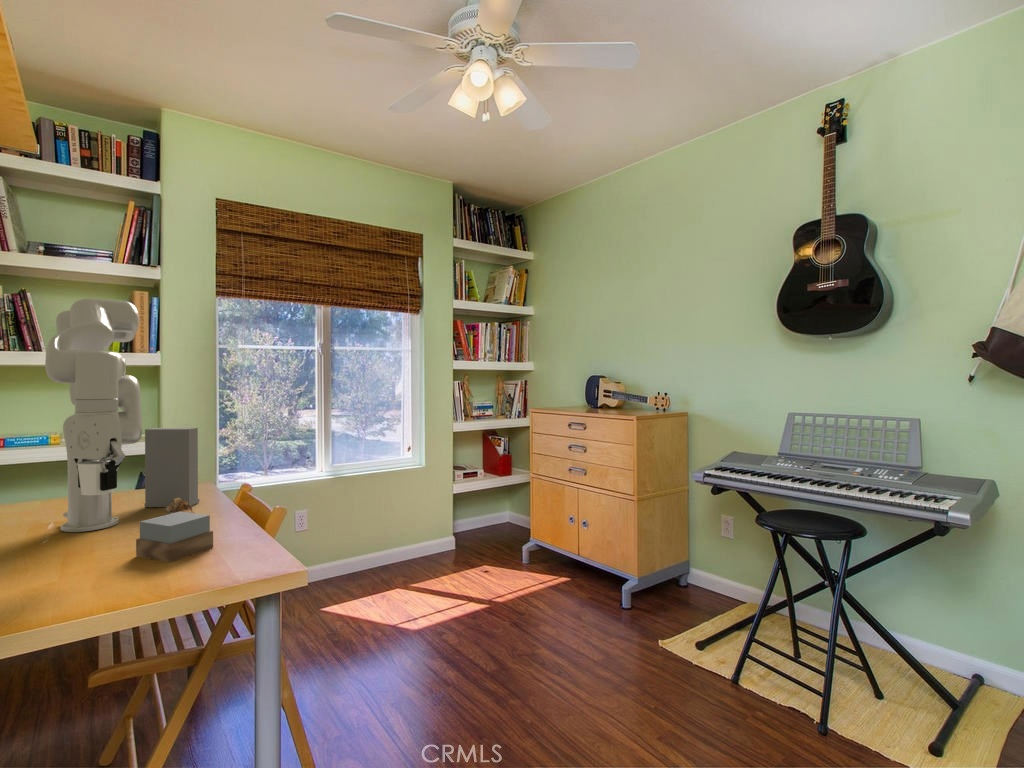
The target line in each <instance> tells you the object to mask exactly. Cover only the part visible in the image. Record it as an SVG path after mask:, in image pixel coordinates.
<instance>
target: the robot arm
mask: <svg viewBox="0 0 1024 768" xmlns="http://www.w3.org/2000/svg"><path fill="white" fill-rule="evenodd" d="M138 311H139V310H138V309H137V307H136V306H135V305H134V304H133V303H131V302H130V301H124V300H114V299H106V298H105V299H104V298H81V299H79V300H76V301H75V302H73V304H71V306H70V309H68V310H62V311H61V312H59V313H58V314H57V315H56V319H55V327H56V331H57V334H55V335H54V336H53V337H51V338H50V340H49V341H48V343H47V346H46V348H45V363H44V364H45V367H44V368H45V372H46V375H47V377H48V378H49V380H51V381H52V382H55V383H58V384H59V383H60V384H69V397H70V401H71V404H72V405H73V406H74V413H73V414H72V415H70V416H68V417H66V419H65V420H64V421H63V425H62V430H63V431H62V433H63V434H62V435H63V437H64V442H65V449H66V458H67V463H66V464H67V510H66V512H64V513H63V515H62V516H63V518H67V520H66V522H65V523H63V524H61V525H60V531H61V532H64V533H82V532H92V531H97V530H102V529H106V528H110V527H111V528H112V527H113V526H116V525H118V524H119V523H120V522H119V520H120V519H119V517H117V516H113V501H112V500H113V498H112V497H113V496H112V495H113V492H111V493H107V494H101V495H82V494H81V487H80V479H79V471H78V463H79V462H82V461H87V460H99V461H100V464H101V468H102V471H103V472H101V473H100V490H101V491H105V490H110V489H114V490H115V489H117V488H118V471H119V469H120V468H119V467H120V466H121V464H122V462H123V461H124V459H125V458H126V454H125V453H124V451H123V450H122V446H124V445H127V446H128V445H132V444H136V443H139V441H141V438H142V435H143V417H142V415H143V413H142V397H141V395H142V394H141V386H140V382H139V379H137V378H136V377H135V376H133V375H129V374H126V371H127V370H126V369H127V364H126V360H125V358H123V356H122V355H121V354H120V353H118V352H117V351H112V350H106V349H107V348H108V347H110V346H111V345H112V343H113V342H114V343H128V342H131V341H133V340H134V338H135V336H136V334H137V331H138V330H139V327H140V315H139V312H138ZM119 410H121V411H119ZM110 460H111V461H110ZM106 461H110V462H109V463H108V465H107V463H106Z"/></svg>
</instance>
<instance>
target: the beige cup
mask: <svg viewBox="0 0 1024 768" xmlns="http://www.w3.org/2000/svg"><path fill="white" fill-rule="evenodd" d="M110 461H111V460H110ZM110 461H106V463H107V465H108V463H109V462H110ZM78 471H79V479H80V487H81V494H82V495H101V494H107V493H111V492H112V493H114V490H115V489H110V490H105V491H101V490H100V473H101V472H103V471H102V468H101V464H100V461H99V460H87V461H82V462H79V463H78Z"/></svg>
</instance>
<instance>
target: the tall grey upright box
mask: <svg viewBox="0 0 1024 768" xmlns="http://www.w3.org/2000/svg"><path fill="white" fill-rule="evenodd" d="M198 434H199V432H198V427H152V428H146V429H144V455H145V456H144V466H145V467H144V475H145V476H144V477H145V479H144V480H145V481H144V482H145V483H144V490H145V491H144V493H145V494H144V495H145V497H144V498H145V499H144V500H145V503H144V508H146V507H149V508H162V507H163V508H167V507H168V506H169V505H171V503H173V500H174V499H176V498H182V499H184V500H186V501H187V502H188V503H189V505H190V506H191V507H192V506H194V505H197V504H200V498H199V474H198V473H199V467H198V466H199V463H198V462H199V452H198V451H199V447H198V446H199V442H198V441H199V438H198V437H199V436H198Z"/></svg>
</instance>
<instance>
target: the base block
mask: <svg viewBox="0 0 1024 768" xmlns="http://www.w3.org/2000/svg"><path fill="white" fill-rule="evenodd" d="M212 547H213V548H214V531H213V530H210V532H207V533H204V534H201V535H197V536H194V537H191V538H188V539H184V540H181V541H178V542H175V543H171V544H168V543H162V542H156V541H150V540H144V539H140V537H139V538H136V539H135V551H136V552H135V554H136V555H135V557H136V556H137V557H136V558H141V557H143V559H147V558H150V559H149V560H153V559H155V560H154V561H159V560H160V561H159V562H164V561H167V562H166V563H173V562H176V561H178V559H179V560H182V559H185V558H187V557H186V556H188V557H190V555H191V556H193V555H196V554H198V552H199V553H202V552H204V550H205V551H207V549H208V550H210V549H209V548H211V549H213V548H212ZM201 551H202V552H201ZM195 553H196V554H195ZM192 554H193V555H192ZM184 557H185V558H184ZM181 558H182V559H181ZM175 560H176V561H175ZM172 561H173V562H172Z"/></svg>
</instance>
